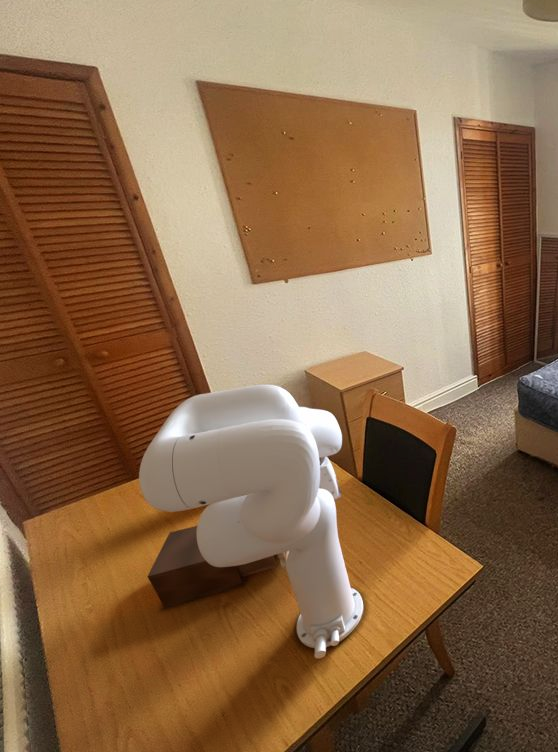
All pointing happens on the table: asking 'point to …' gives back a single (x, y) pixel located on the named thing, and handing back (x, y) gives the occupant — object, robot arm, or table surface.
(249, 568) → the drawer
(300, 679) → the table surface
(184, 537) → the cabinet
